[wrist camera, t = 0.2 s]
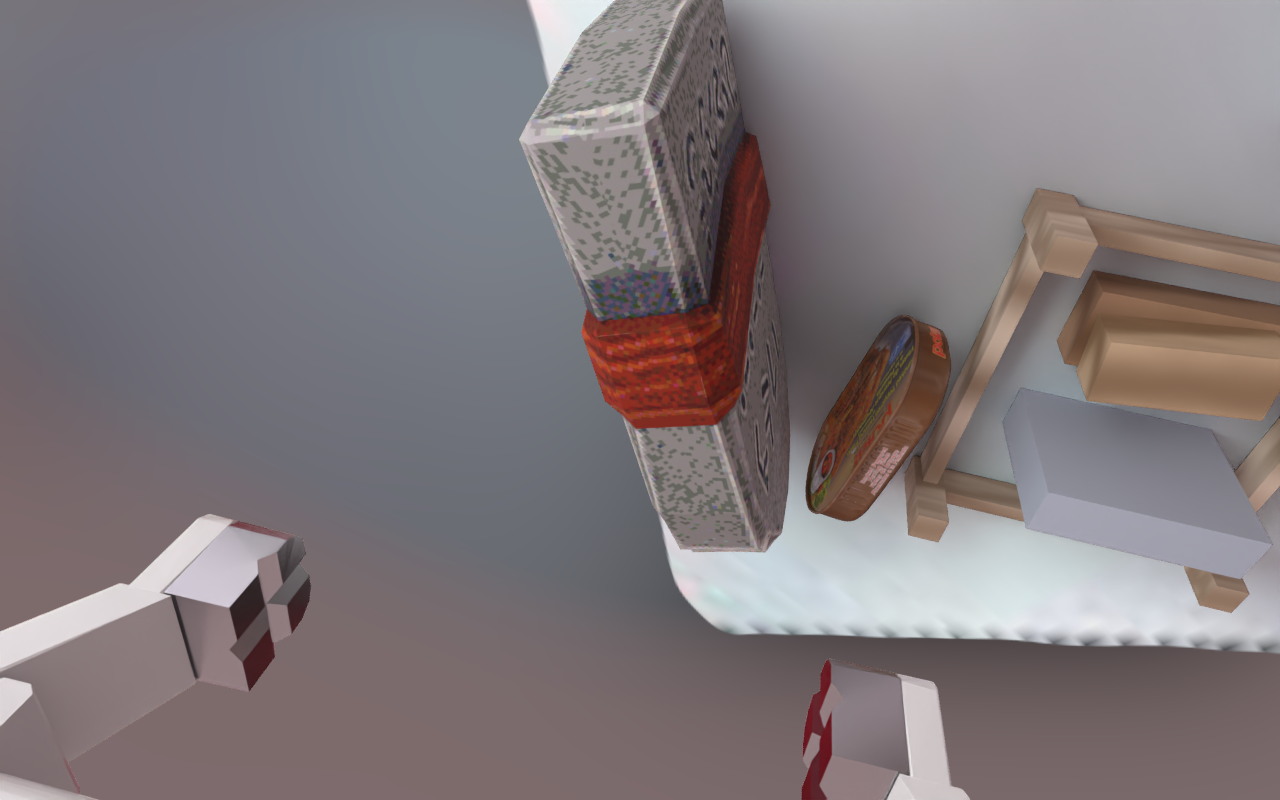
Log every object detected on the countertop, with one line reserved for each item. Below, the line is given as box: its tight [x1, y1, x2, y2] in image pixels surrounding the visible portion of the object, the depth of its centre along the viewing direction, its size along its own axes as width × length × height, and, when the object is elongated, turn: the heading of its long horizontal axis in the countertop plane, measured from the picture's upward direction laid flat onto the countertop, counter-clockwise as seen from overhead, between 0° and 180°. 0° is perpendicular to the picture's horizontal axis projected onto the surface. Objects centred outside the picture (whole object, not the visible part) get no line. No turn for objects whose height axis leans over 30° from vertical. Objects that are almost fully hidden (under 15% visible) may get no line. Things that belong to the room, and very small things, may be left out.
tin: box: [806, 315, 951, 521], centre depth 52 cm, size 15×3×8 cm, turn 162°
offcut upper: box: [1076, 314, 1280, 421], centre depth 45 cm, size 4×9×3 cm, turn 90°
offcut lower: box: [1057, 270, 1280, 366], centre depth 47 cm, size 5×11×3 cm, turn 84°
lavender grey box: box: [1003, 388, 1273, 579], centre depth 49 cm, size 3×12×10 cm, turn 83°
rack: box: [905, 188, 1280, 613], centre depth 49 cm, size 22×21×6 cm
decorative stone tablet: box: [519, 0, 790, 552], centre depth 43 cm, size 19×6×30 cm
